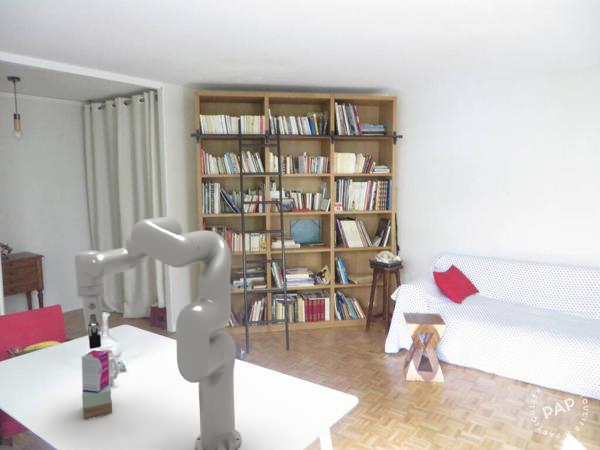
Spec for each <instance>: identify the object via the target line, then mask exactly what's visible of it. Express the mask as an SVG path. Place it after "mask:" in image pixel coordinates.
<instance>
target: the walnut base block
mask: <svg viewBox="0 0 600 450" xmlns="http://www.w3.org/2000/svg"><path fill="white" fill-rule="evenodd" d="M83 414H84V415H83V416H84V420H85V419H87V420H90V419H89V418H91V419H94V418H93V417H95V418H99V417H104V416H107V414H108V415H113V402H112V400H111V403H107V404H102V405H97V406H92V407H88V408H83ZM103 415H104V416H103ZM98 416H99V417H98Z"/></svg>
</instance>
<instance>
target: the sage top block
mask: <svg viewBox="0 0 600 450" xmlns="http://www.w3.org/2000/svg"><path fill="white" fill-rule="evenodd" d="M111 388H112V387H111V386H110V380H109V385H108V386H107V387H105V388H104V389H102V390H101V391H100V392H99V393H93V392H84V391H83V390H82V393H81V397H82V398H81V400H82V409H84V408H88V407H92V406H97V405H102V404H107V403H111V401H112V390H111Z"/></svg>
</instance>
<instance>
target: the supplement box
mask: <svg viewBox="0 0 600 450" xmlns="http://www.w3.org/2000/svg"><path fill="white" fill-rule="evenodd" d="M81 371H82V372H81V375H82V376H81V377H82V392H83V391H84V392H93V393H99V392H100V391H101V390H102V389H104V388H105V387H107V386H108V385H109V356H108V352H105V351H99V350H94V349H93V350H91V351H90V352H88V353H86V354H84V355H82V356H81Z"/></svg>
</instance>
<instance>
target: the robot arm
mask: <svg viewBox="0 0 600 450" xmlns="http://www.w3.org/2000/svg"><path fill="white" fill-rule="evenodd" d="M124 245H125V246H122V247H120V248H115V249H108V250H104V251H98V250H95V249H93V250H92V249H90V250H83V251H79V252H76V253H75V255H74V267H75V281H76V292H77V297H78V298H81V299H82V309H83V310H82V312H83V316H84V317H83V318H84V322H85V327H86V329H87V331H88V332H87V334H88V342H89V344H88V345H89V349H91V350H92V349H93V350H94V349H97V348H99V349H100V348H102V338H101V333H100V327H102V328H103V326H104V315H103V313H104V312H103V304H102V303H103V301H102V295H104V293H105V287H104V277H109V276H112V275H115V274H120V273H124V272H127V271H130V270H132V269H134V268H136V267H138V266H139V265H142V264H143V263H145V262H146V261H147V260H148V259H149V258H153V259H155V260H157V261H159V262H160V263H163V264H164V265H167V266H169V267H173V268H179V269H181V268H187V267H190V266H193V265H197V264H199V263H200V264H201V263H202V268H201V270H200V272H199V275H198V281H197V282H198V283H197V284H198V294H197V295H198V296H197V300H196V301H193V302H191V303H188V304H187V305H186V306H184V307H183V308H182V309H180V310H181V311H179V313H178V316H177V320H176V323H175V324H176V327H175V328H176V329H175V332H176V337H175V339H176V362H177V363H176V364H177V368H178V372H179V373H180V374H179V375H180V376H181V377H182V378H183V379H184V380H185V381H187V382H189V383H193V384H197V383H198V404H199V406H198V408H199V425H200V428H199V429H200V434H199V435H198V436H197V437H196V439H195V442H194V444H195V449H196V450H236V449H238V448H239V446H240V445H241V442H242V436H241V433H240V432H239V430H236V422H235V421H236V420H235V417H236V415H235V414H236V413H235V392H234V391H235V385H234V384H235V383H234V380H235V379H234V378H235V377H234V375H235V374H234V373H235V363H236V357H237V356H236V355H237V349H236V348H237V346H236V343H235V341H234V339H233V337H232V336H231V335H230V333H228V332H225V331H220V330H221V329H223V328H225V327H226V326H227V325H229V322H230V320H231V315H232V314H231V313H232V312H231V311H232V309H231V307H232V306H231V303H232V301H231V300H232V299H231V298H232V297H231V291H232V290H231V271H232V270H231V269H232V253H231V249H230V247H229V245H228V243H227V241H226V240H225V238H224V237H222V236H221V235H220V234H219V233H217V232H215V231H211V230H196V231H191V232H187V233H183V228H182V225H181V224H180V221H178V220H176V219H175V218H173V217H170V216H162V217H160V216H159V217H154V218H153V217H152V218H145V219H141V220H139V221H137V222H136V223H135V224H134V225H133V226H132V229H131V232H130V233H129V235H128V236H126V239H125V244H124Z"/></svg>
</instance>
